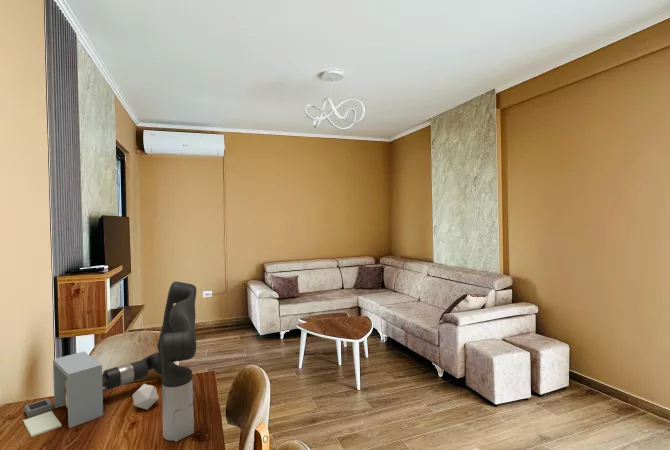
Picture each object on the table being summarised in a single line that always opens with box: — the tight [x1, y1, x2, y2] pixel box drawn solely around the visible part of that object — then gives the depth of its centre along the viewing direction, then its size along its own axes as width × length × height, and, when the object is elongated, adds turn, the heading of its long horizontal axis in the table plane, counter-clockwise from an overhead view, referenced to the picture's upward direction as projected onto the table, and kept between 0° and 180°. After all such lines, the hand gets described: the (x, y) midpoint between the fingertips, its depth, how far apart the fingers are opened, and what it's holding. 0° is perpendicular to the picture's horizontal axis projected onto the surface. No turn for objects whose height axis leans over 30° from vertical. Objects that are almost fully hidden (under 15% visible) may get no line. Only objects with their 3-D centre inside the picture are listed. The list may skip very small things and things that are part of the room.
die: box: [132, 383, 159, 411], centre depth 135 cm, size 8×9×10 cm
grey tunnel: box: [52, 351, 104, 429], centre depth 132 cm, size 21×10×18 cm, turn 50°
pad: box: [22, 411, 62, 438], centre depth 124 cm, size 14×8×1 cm, turn 50°
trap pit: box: [23, 397, 54, 419], centre depth 133 cm, size 7×7×2 cm
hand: (67, 392), depth 130 cm, fingers closed on birch block, 5 cm apart
